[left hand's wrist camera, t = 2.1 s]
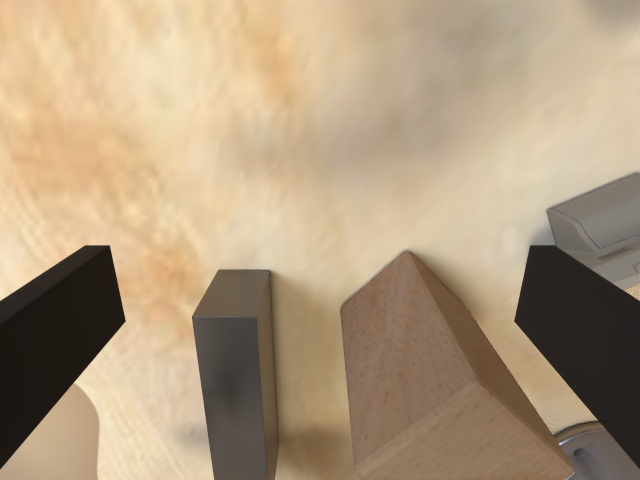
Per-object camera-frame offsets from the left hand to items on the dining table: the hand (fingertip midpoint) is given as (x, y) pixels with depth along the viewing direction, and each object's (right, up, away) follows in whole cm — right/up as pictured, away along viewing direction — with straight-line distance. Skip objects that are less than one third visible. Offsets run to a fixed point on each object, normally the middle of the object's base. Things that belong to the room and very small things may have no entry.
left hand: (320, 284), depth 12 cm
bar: (-8, -14, +33) cm, 37 cm away
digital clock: (+28, +3, +27) cm, 39 cm away
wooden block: (+9, -6, +30) cm, 32 cm away
